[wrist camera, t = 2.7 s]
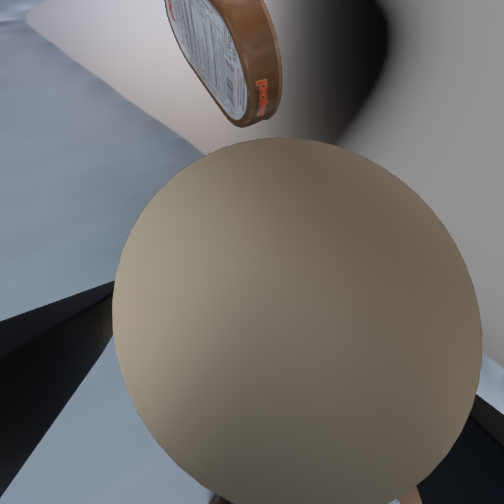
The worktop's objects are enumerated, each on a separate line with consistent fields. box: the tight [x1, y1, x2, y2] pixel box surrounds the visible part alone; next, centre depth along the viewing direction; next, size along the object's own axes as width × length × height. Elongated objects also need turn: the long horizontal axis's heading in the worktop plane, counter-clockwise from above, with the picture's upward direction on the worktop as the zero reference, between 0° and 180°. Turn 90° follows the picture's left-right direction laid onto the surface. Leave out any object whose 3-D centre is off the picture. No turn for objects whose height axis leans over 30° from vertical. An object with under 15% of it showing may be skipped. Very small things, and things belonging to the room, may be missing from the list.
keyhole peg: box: [112, 138, 482, 504], centre depth 10 cm, size 6×6×13 cm
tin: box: [164, 0, 282, 128], centre depth 19 cm, size 15×3×8 cm, turn 31°
